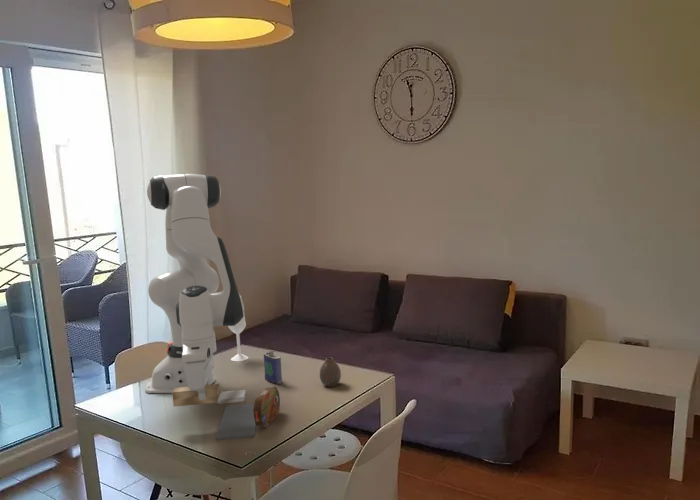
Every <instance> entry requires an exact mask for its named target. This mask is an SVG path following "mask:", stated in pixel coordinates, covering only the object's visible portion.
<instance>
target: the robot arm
mask: <svg viewBox="0 0 700 500" xmlns="http://www.w3.org/2000/svg"><path fill="white" fill-rule="evenodd" d="M146 195H147V198H148V201H149V203H150V205H151V206H152V207H153V208H154V209H157V210H162V211H165V223H164V226H165V246H166V249H165V250H166V252H167V254H168V255H169V256H171V257H172V258H174V259H176V260H177V261H178V264H179V270H173V271H168V272H164V273H162V274H160V275H157V276H155V277H153V278H152V279H151V280H150V282H149V284H148V291H147V292H148V296H149V299H150V301H151V302H152V303H153V304H154V305H155V306H157V307H159V308H160V309H162V310H163V312H164V313H165V315H166V316H167V319H168V322H169V324H170V330H171V331H170V332H171V338H172V340H171V341H170V342H169V343H168V345H167V347H166V353H167V355H166V357H164V358H163V360H161V361H160V362H159V363H158V364H157V365H156V366H155V368H154V369H153V370H152V375H151V380H149V381H148V382H147V384H146V385H145V388H144V389H145V390H144V392H146V393H147V394H172V392H173V390H174V388H180V387H189V389H190V391H197V392H198V395H199V400H205V399H206V391H205V385H211V384H213V383H215V381H216V378H215V376H214V373H213V370H214V367H215V364H214V356H213V354H214V353H216V352H217V341H216V332H215V329H214V327H221V326H222V327H228V326H235V325H236V324H237V323H239V322H240V321H241V319H242V318H243V317H244V315H245V305H244V300H243V298H241V297H242V295H241V294H240V292H239V289H238V286H237V283H236V278H235V275H234V272H233V267H232V264H231V261H230V257H229V254H228V252H227V247H226V245H225V242H224V241H223V239H222V238H221V237H219V236H217V235H216V234H215V232H214V231H213V229H212V226H211V220H210V212H209V209H212V208H215V207H216V206H217V205H218V204H219V202H220V199H221V195H222V188H221V185H220V181H219V179H218V178H217V177H216V176H215V175H211V174H207V173H206V174H198V173H181V174H167V175H163V174H160V175H155V176H152V177H151V179H150V180H149V183H148V185H147V188H146ZM206 259H208V260H211V262H213V263H214V264H215V266H216V268H217V270H218V273H217V271H216V270H215V269H214V268H213V267H211V266H210V264H209V263H208V262H207V260H206ZM220 282H221V285H222V290H221V291H218V289H219V285H220Z"/></svg>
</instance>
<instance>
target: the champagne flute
mask: <svg viewBox="0 0 700 500" xmlns="http://www.w3.org/2000/svg"><path fill="white" fill-rule="evenodd" d="M241 298H242V296H241ZM242 299H243V298H242ZM246 326H247V323H246V316H245V314H244V317H243V318H242V319H241V321H240V322H239V323H237V324H236V325H235V326H227V327H228V328H229V330H230V331H231V332H233V333H234V334H235V335H236V336H235V337H236V347H237V348H236V349H237V354H235V355H233V357H231V358H230V360H231V361H233V362H242V361H246V360H248V359H249V356H247V355H245V354H243V353H242V351H241V350H242V349H241V338H240V337H241V335H240V334H241V333H242V332H243V331H244V330H245V328H246Z"/></svg>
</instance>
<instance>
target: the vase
mask: <svg viewBox="0 0 700 500" xmlns="http://www.w3.org/2000/svg"><path fill="white" fill-rule="evenodd" d="M341 379H342V373H341V368H340V366H339V364H338V363H337V362H336V361H335V359H334V358H333V357H326V358H325V360H324V362H323V363H322V365H321V367H320V368H319V380H320V381H321V383H322V385H324V386H325V387H328V388H331V387H335V386H337V385H339V383H340V381H341Z"/></svg>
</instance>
